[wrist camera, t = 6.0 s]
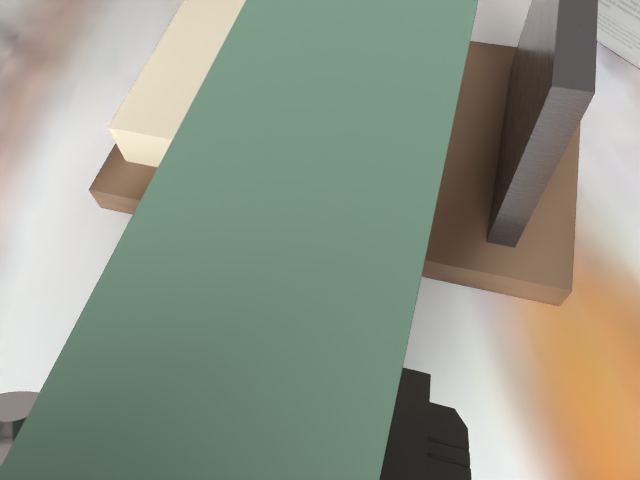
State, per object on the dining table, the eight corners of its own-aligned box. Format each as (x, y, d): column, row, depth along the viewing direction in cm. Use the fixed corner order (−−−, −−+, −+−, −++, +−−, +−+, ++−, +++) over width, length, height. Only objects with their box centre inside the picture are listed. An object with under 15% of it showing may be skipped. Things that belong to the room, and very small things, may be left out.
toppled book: (125, 161, 27) (107, 127, 25) (200, 27, 32) (190, -11, 30) (221, 179, 26) (210, 146, 24) (283, 39, 31) (278, 1, 29)
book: (221, 581, 17) (-85, 628, 5) (312, 290, 22) (276, -60, 9) (334, 619, 16) (315, 782, 4) (401, 311, 21) (484, -32, 9)
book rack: (100, 207, 28) (24, 97, 21) (202, 24, 34) (168, -102, 28) (559, 306, 24) (637, 209, 17) (573, 78, 31) (633, -53, 24)
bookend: (486, 242, 24) (551, 86, 16) (510, 66, 29) (569, -115, 21) (514, 247, 24) (595, 92, 16) (534, 69, 29) (601, -112, 21)
